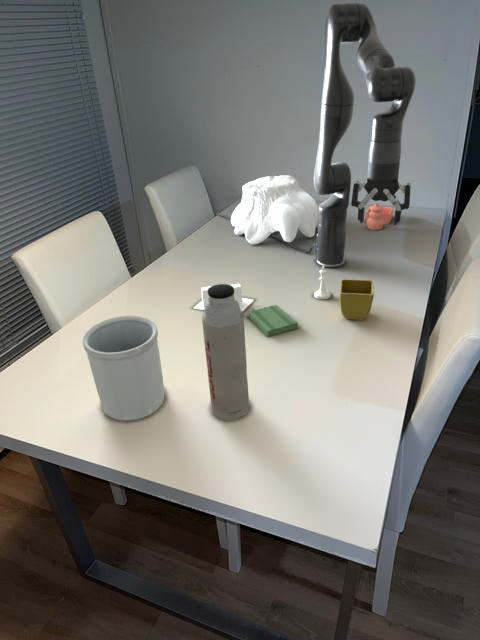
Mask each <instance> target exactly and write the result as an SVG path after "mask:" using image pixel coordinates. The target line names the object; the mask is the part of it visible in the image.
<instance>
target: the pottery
mask: <svg viewBox="0 0 480 640" xmlns="http://www.w3.org/2000/svg"><path fill="white" fill-rule="evenodd" d="M393 213H394V207H389V206H382V205H380V203H379V202H374V205H370V206H369V207H368V209H367V210H366V212H365V223H366V228H367V229H368V230H373V231H379V230H382V229H383V227H384V225H389V224H390V223H391V221H392V219H393V215H394V214H393Z"/></svg>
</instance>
